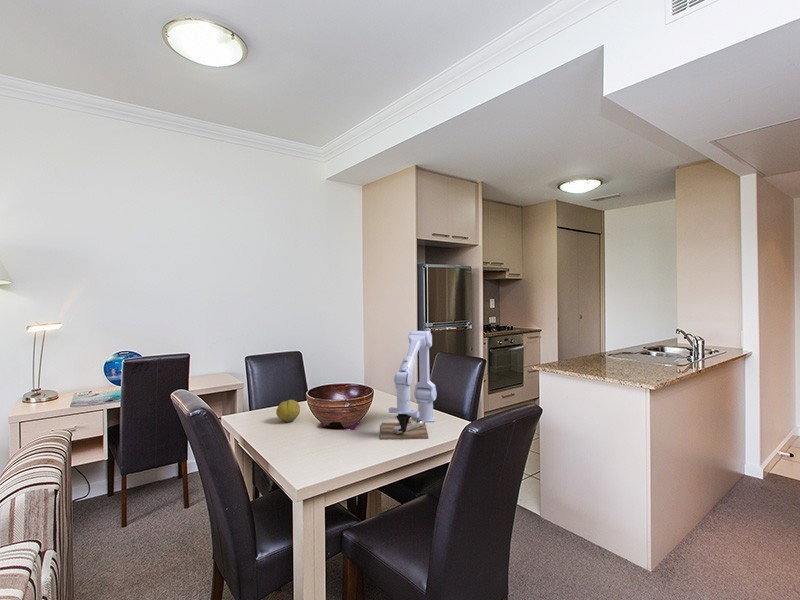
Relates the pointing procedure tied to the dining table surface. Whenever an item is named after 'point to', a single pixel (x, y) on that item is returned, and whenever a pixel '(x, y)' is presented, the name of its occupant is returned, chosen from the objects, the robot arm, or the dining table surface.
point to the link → (408, 426)
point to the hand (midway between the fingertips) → (403, 431)
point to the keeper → (417, 420)
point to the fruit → (288, 410)
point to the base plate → (410, 434)
